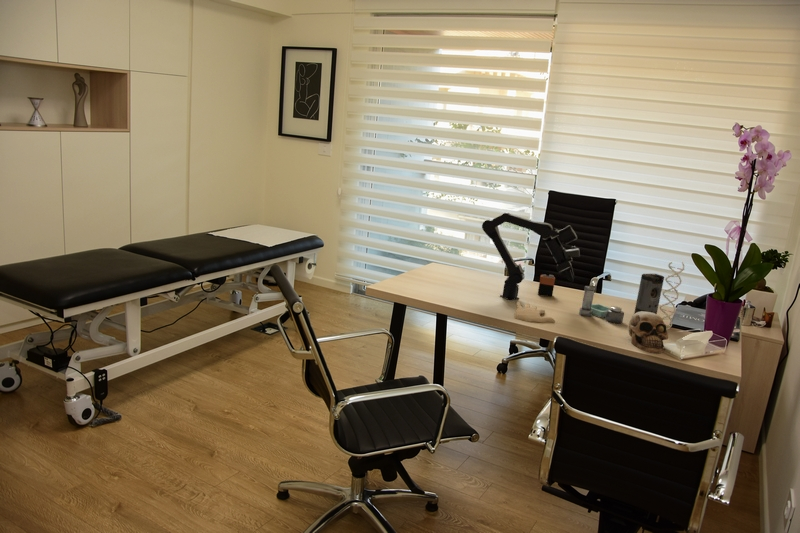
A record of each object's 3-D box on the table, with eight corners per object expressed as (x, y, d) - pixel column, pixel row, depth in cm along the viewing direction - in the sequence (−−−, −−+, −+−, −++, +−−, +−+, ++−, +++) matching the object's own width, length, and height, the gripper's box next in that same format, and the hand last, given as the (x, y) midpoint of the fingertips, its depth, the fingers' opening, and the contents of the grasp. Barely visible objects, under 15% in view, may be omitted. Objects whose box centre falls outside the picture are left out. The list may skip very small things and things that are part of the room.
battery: (552, 297, 293) (555, 276, 291) (537, 294, 294) (540, 274, 292) (552, 295, 297) (555, 275, 295) (538, 292, 298) (541, 272, 296)
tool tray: (600, 317, 266) (601, 311, 266) (582, 310, 274) (583, 305, 274) (615, 315, 272) (616, 310, 271) (597, 309, 280) (598, 303, 279)
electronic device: (642, 321, 267) (651, 277, 263) (631, 317, 272) (640, 273, 268) (657, 320, 272) (666, 276, 267) (646, 316, 277) (654, 273, 272)
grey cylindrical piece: (585, 317, 265) (590, 289, 262) (576, 313, 269) (581, 286, 266) (593, 316, 267) (598, 288, 265) (584, 312, 272) (589, 285, 269)
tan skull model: (655, 354, 225) (659, 318, 223) (614, 343, 239) (618, 309, 237) (678, 350, 234) (682, 316, 233) (637, 340, 248) (641, 307, 246)
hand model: (505, 310, 253) (521, 295, 270) (503, 320, 255) (520, 305, 271) (549, 323, 245) (563, 307, 261) (547, 334, 246) (562, 317, 263)
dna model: (662, 335, 249) (677, 263, 243) (650, 330, 255) (665, 260, 248) (674, 335, 252) (689, 264, 246) (662, 329, 258) (677, 260, 251)
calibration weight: (615, 324, 258) (617, 310, 257) (601, 319, 264) (604, 306, 262) (625, 323, 262) (628, 309, 261) (612, 318, 268) (614, 304, 266)
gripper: (572, 243, 261) (590, 275, 261) (573, 237, 279) (590, 267, 279) (548, 255, 265) (566, 287, 265) (551, 249, 283) (567, 278, 283)
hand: (573, 279), depth 273 cm, fingers open, 9 cm apart
